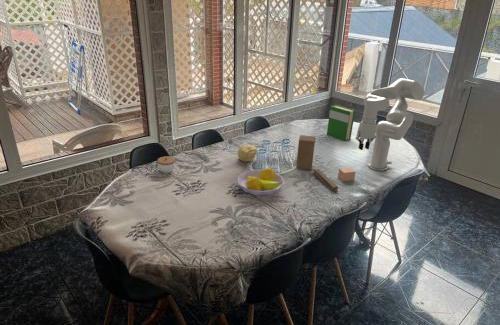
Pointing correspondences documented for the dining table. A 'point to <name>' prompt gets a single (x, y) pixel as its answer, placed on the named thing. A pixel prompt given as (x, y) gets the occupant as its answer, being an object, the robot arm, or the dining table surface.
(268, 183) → the fruit bowl
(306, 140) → the wooden block
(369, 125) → the robot arm
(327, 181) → the brown wooden bar
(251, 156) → the pale yellow lumpy ball
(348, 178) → the block
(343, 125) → the hardback book
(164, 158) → the lidded jar
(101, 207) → the dining table surface
